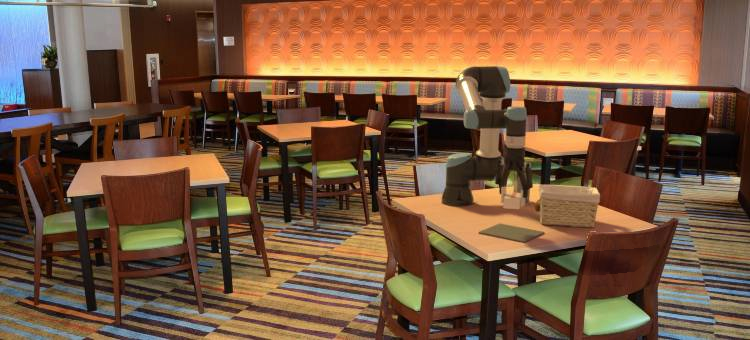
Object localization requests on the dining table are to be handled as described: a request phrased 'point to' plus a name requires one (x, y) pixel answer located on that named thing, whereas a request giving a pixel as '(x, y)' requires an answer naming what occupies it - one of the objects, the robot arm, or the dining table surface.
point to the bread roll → (537, 205)
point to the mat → (512, 233)
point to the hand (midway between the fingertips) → (512, 204)
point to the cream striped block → (512, 200)
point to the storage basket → (568, 205)
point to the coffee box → (520, 186)
